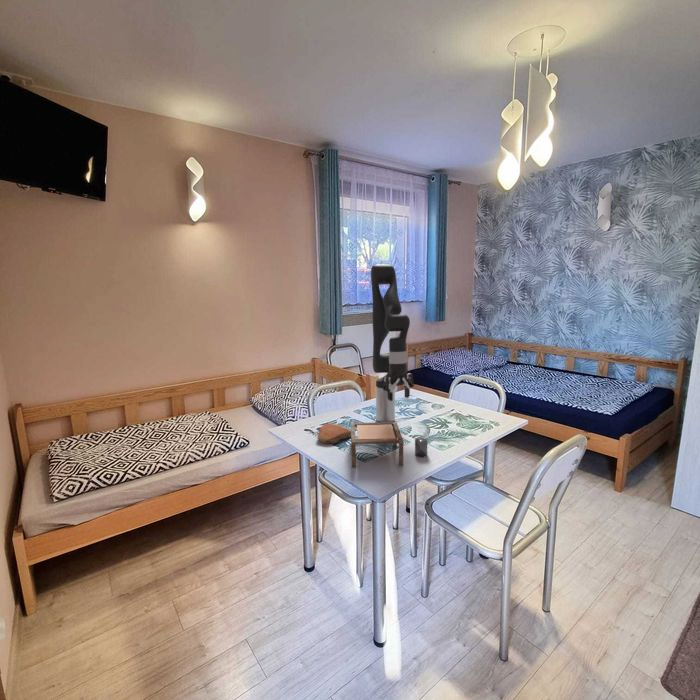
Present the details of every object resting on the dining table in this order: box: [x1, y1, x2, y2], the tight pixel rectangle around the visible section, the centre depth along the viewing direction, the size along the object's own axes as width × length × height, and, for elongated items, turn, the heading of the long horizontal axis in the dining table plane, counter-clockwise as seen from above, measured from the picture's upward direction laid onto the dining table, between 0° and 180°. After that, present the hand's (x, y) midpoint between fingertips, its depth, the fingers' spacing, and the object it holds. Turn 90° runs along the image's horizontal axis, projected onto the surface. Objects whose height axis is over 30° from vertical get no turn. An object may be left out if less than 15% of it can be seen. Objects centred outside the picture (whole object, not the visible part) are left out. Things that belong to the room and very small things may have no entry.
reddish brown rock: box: [317, 423, 351, 445], centre depth 170 cm, size 15×6×15 cm
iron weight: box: [414, 437, 428, 458], centre depth 151 cm, size 5×5×6 cm
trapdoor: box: [356, 424, 396, 440], centre depth 150 cm, size 14×14×1 cm
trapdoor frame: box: [350, 421, 404, 468], centre depth 151 cm, size 19×19×10 cm
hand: (398, 399), depth 164 cm, fingers open, 8 cm apart
